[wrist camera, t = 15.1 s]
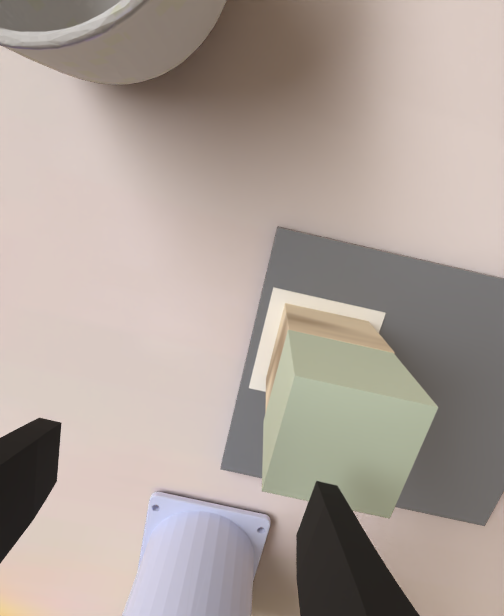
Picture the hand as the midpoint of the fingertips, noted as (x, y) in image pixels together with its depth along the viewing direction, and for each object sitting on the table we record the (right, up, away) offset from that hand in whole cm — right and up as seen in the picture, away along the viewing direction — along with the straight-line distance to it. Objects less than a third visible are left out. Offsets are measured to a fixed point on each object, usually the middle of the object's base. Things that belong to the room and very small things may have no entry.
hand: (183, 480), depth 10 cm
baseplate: (+10, 0, +10) cm, 14 cm away
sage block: (+5, +1, +5) cm, 8 cm away
